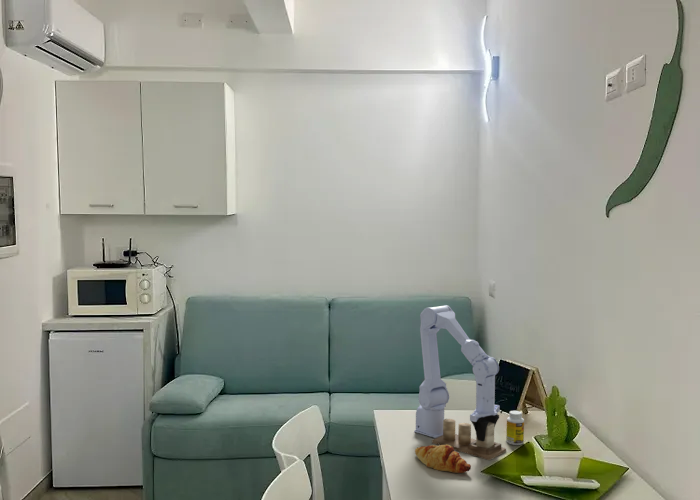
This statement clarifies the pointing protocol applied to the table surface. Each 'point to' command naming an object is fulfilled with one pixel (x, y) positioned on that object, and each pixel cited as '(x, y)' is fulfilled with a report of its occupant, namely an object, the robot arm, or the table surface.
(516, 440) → the supplement bottle
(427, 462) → the croissant
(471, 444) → the walnut rail
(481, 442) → the maple block
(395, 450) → the table surface
